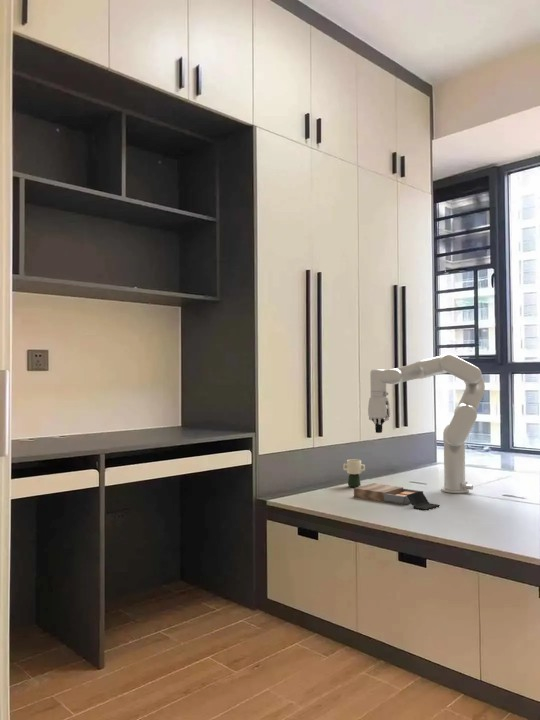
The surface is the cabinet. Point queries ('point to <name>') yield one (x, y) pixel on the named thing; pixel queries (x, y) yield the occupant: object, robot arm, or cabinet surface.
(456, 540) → the cabinet surface
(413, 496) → the black sloped piece
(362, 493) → the board
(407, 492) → the tile
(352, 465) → the character mug
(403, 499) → the box
